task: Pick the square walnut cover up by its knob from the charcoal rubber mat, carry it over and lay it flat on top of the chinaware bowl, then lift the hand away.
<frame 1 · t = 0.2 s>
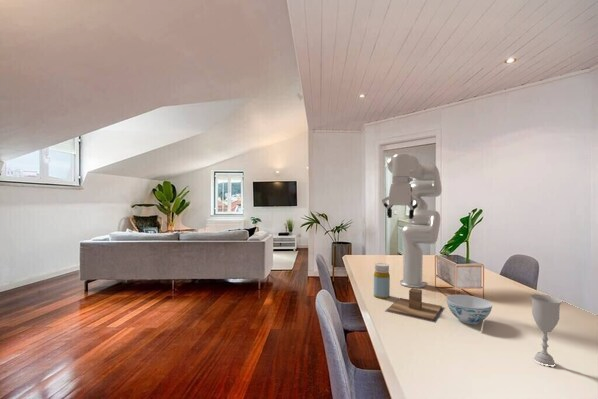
hand: (400, 218, 143), 36 cm above the table, tool pointing down, fingers open, 9 cm apart
chalice: (544, 363, 87), on the table
bottle: (381, 297, 142), on the table
chinaware: (468, 322, 115), on the table
mat: (415, 310, 126), on the table
cover: (415, 309, 126), resting on mat
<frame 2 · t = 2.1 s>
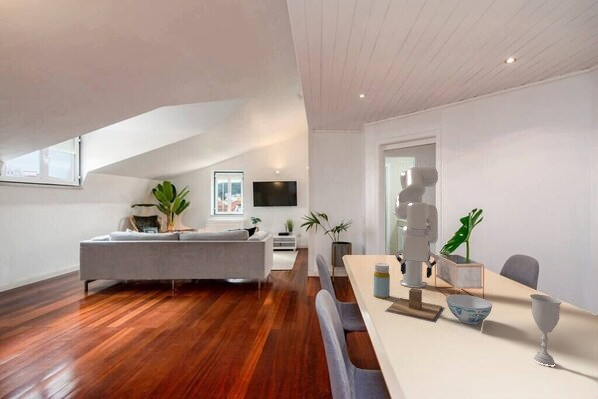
hand: (415, 275, 125), 14 cm above the table, tool pointing down, fingers open, 9 cm apart
nothing on the table moved.
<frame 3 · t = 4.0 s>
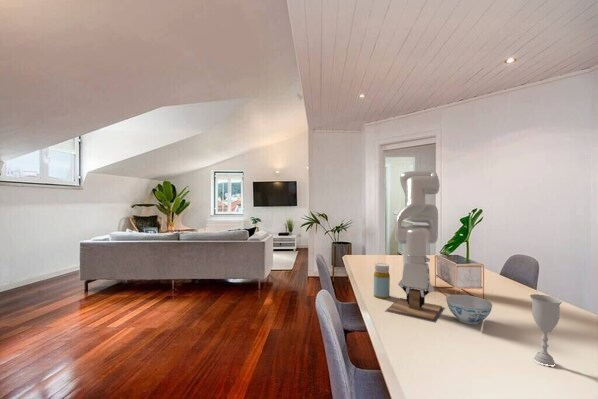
hand: (415, 304, 126), 3 cm above the table, tool pointing down, fingers closed on cover, 4 cm apart
cover: (415, 309, 126), resting on mat, touching gripper
everything else where it was.
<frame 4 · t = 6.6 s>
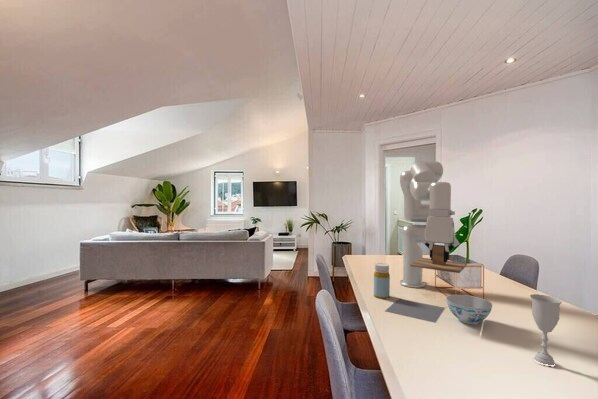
hand: (439, 260, 121), 22 cm above the table, tool pointing down, fingers closed on cover, 4 cm apart
cover: (439, 265, 121), point 19 cm above the table, touching gripper
everything else where it was.
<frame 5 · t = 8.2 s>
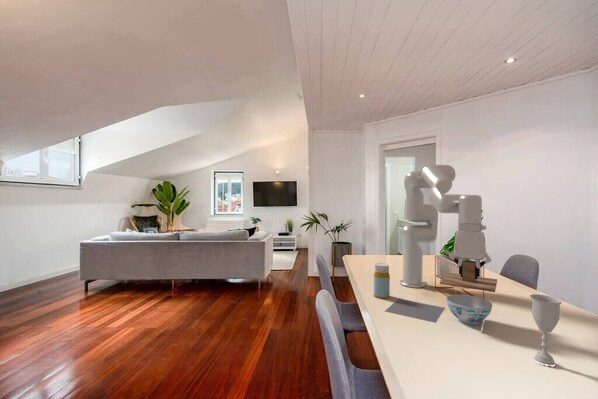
hand: (469, 276, 115), 17 cm above the table, tool pointing down, fingers closed on cover, 4 cm apart
cover: (469, 282, 115), point 15 cm above the table, touching gripper
everything else where it was.
when the fingers open (11 cm above the table, at t = 9.4 s): cover drops 2 cm, resting on chinaware.
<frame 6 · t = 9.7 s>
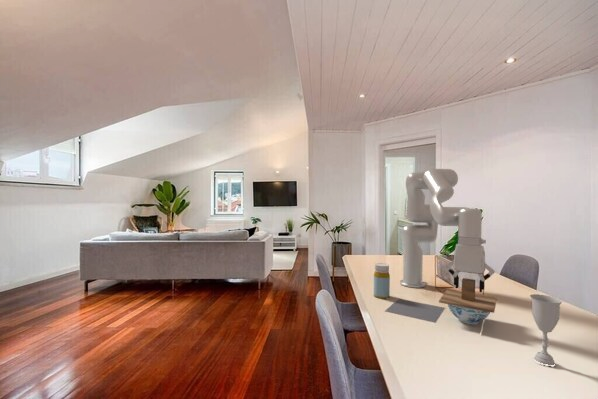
hand: (468, 289, 115), 12 cm above the table, tool pointing down, fingers open, 7 cm apart
chinaware: (468, 322, 115), on the table, touching cover
cover: (468, 300, 115), point 8 cm above the table, touching chinaware
everything else where it was.
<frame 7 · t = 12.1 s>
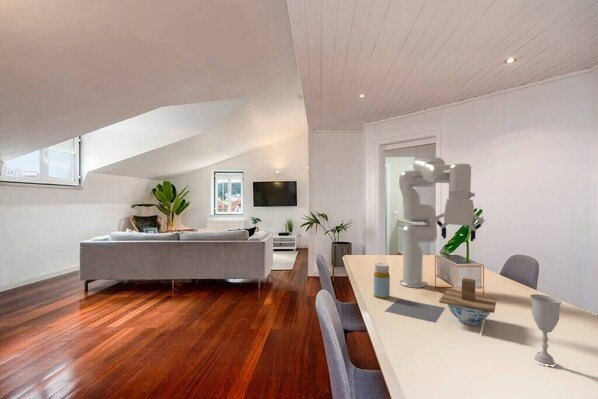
hand: (457, 239, 121), 30 cm above the table, tool pointing down, fingers open, 9 cm apart
nothing on the table moved.
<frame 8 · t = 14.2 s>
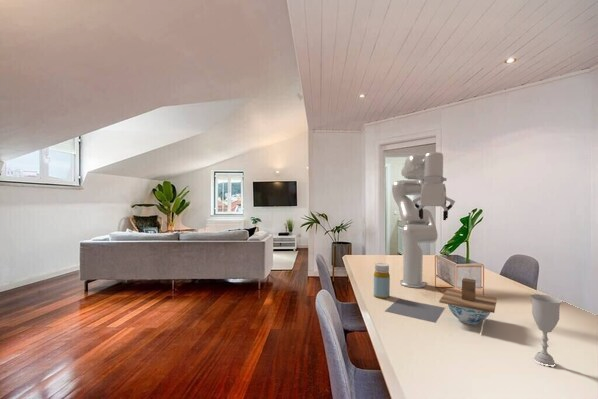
hand: (432, 219, 137), 36 cm above the table, tool pointing down, fingers open, 9 cm apart
nothing on the table moved.
at the end: cover 0.0 cm off-centre on the chinaware, point 7.9 cm above the chinaware's base; cover tilted 0°; the gripper is holding nothing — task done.
